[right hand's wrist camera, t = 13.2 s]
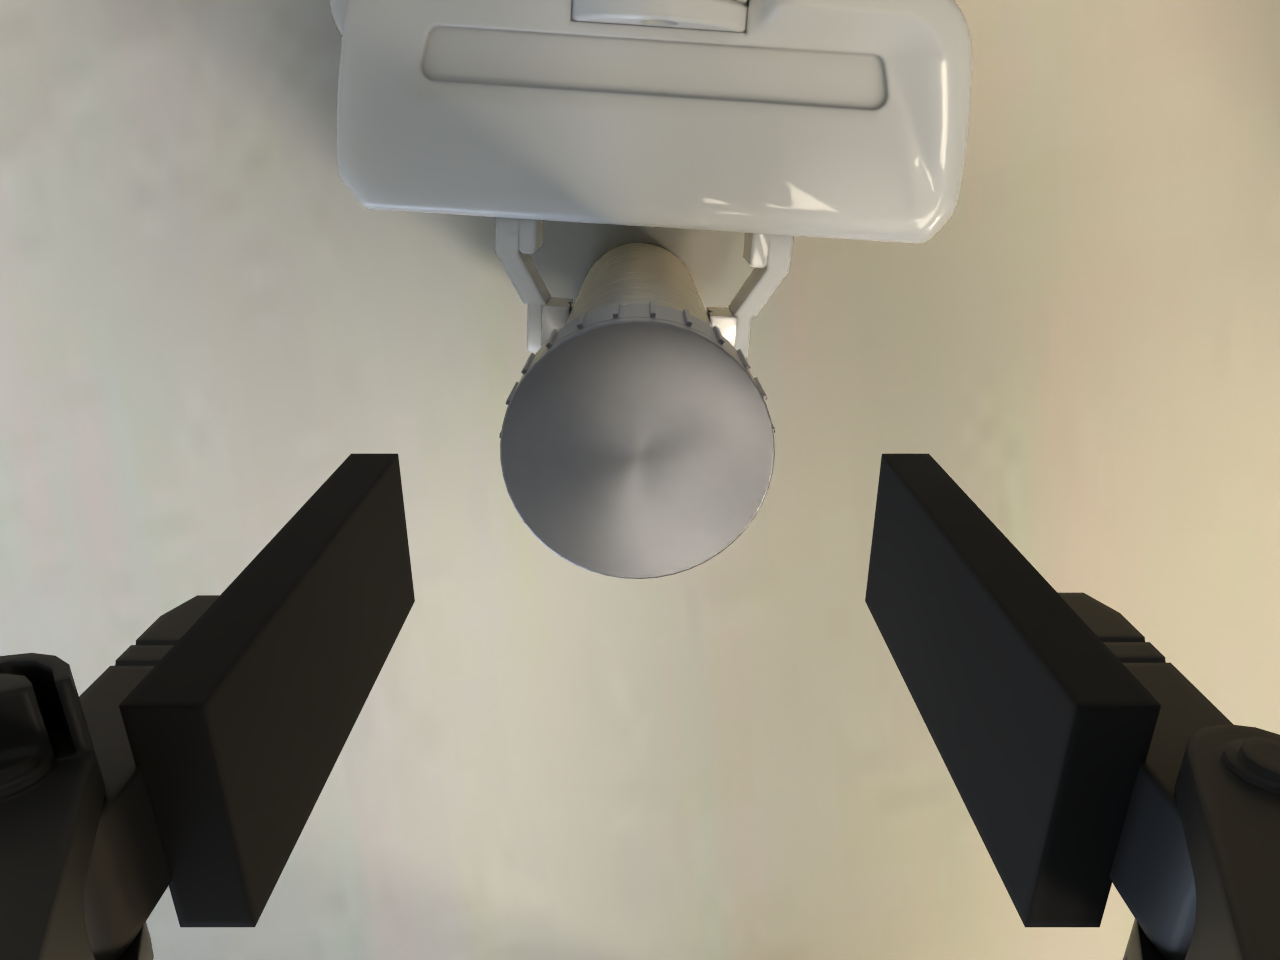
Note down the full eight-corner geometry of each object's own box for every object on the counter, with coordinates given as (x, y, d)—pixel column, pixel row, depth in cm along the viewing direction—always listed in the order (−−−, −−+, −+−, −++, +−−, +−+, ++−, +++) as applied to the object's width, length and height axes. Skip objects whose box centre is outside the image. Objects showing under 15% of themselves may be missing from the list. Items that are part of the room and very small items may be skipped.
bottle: (710, 258, 35) (780, 369, 18) (680, 371, 37) (716, 573, 20) (594, 229, 35) (548, 312, 17) (569, 344, 37) (504, 527, 19)
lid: (797, 335, 19) (814, 356, 17) (724, 564, 21) (733, 606, 19) (538, 270, 19) (526, 285, 17) (490, 512, 21) (475, 550, 19)
